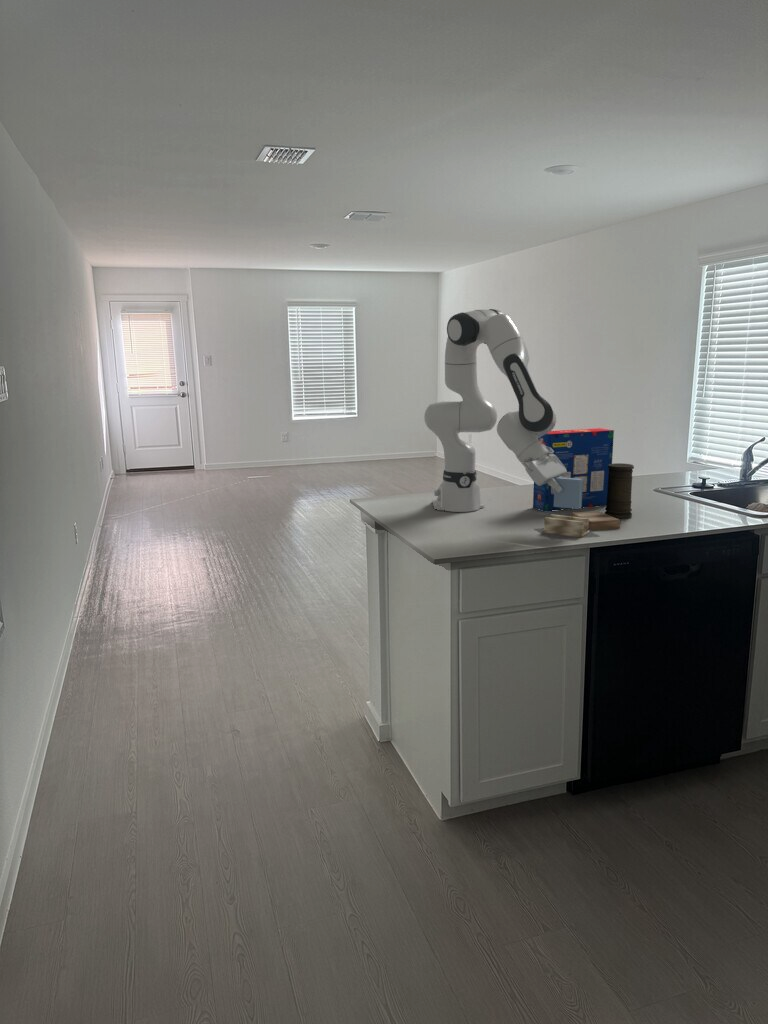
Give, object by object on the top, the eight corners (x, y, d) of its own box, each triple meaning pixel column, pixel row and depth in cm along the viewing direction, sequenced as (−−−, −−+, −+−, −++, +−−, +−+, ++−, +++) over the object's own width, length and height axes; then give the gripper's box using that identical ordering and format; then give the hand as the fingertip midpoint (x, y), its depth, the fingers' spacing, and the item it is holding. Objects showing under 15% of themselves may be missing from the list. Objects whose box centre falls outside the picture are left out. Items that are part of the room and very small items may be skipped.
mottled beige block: (542, 532, 222) (542, 517, 221) (550, 527, 228) (550, 513, 227) (582, 537, 215) (583, 522, 214) (590, 532, 221) (590, 518, 220)
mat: (533, 529, 227) (533, 528, 227) (579, 526, 230) (579, 525, 230) (551, 540, 213) (551, 539, 213) (600, 537, 216) (600, 536, 216)
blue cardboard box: (595, 501, 269) (599, 428, 263) (609, 505, 262) (613, 430, 256) (532, 507, 260) (535, 431, 254) (545, 512, 252) (548, 434, 246)
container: (636, 516, 244) (639, 464, 240) (624, 520, 238) (627, 467, 234) (611, 512, 250) (614, 462, 247) (599, 516, 244) (602, 465, 240)
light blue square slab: (553, 506, 220) (554, 478, 219) (556, 505, 222) (557, 477, 221) (578, 509, 216) (580, 479, 214) (581, 507, 218) (582, 478, 216)
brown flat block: (570, 521, 238) (571, 512, 237) (598, 519, 240) (598, 510, 239) (590, 530, 224) (591, 521, 224) (619, 529, 226) (620, 519, 225)
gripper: (529, 453, 212) (559, 488, 209) (552, 447, 229) (581, 479, 226) (514, 467, 215) (544, 501, 212) (539, 460, 232) (566, 491, 229)
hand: (563, 490), depth 219 cm, fingers closed on light blue square slab, 2 cm apart
